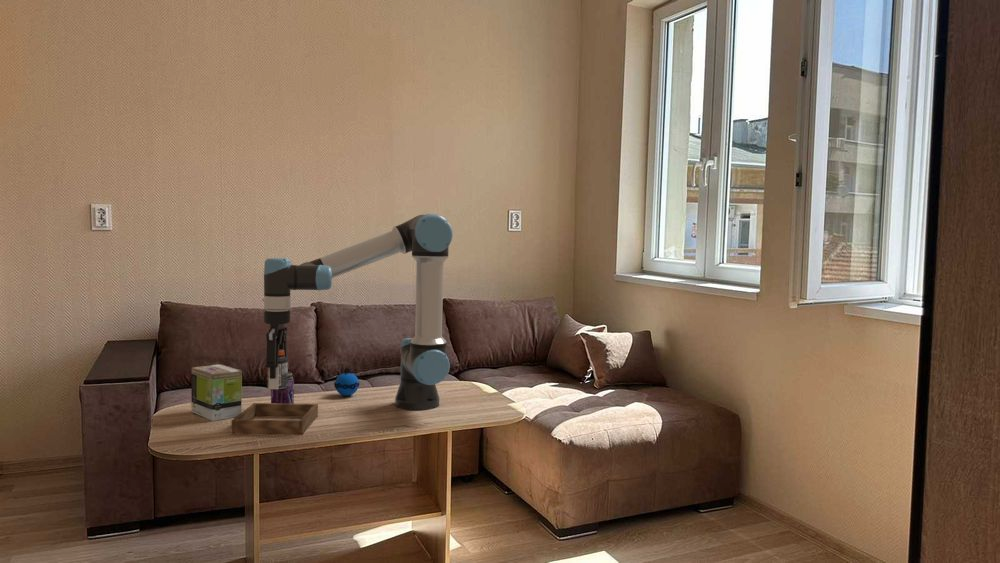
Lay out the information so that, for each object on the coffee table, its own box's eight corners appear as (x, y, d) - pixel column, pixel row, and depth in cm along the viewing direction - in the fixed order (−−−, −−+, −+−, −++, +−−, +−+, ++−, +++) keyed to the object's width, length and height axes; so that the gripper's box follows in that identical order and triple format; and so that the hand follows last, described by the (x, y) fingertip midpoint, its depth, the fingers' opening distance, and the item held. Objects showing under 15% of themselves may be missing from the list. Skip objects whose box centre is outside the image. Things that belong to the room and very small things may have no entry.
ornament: (351, 391, 254) (351, 364, 254) (363, 396, 248) (363, 368, 247) (329, 395, 249) (330, 367, 248) (342, 399, 242) (342, 371, 242)
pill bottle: (263, 387, 209) (263, 349, 208) (281, 384, 213) (281, 347, 212) (273, 390, 205) (273, 352, 204) (291, 387, 209) (291, 350, 208)
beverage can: (286, 413, 223) (287, 376, 222) (266, 412, 224) (266, 375, 223) (297, 408, 229) (297, 372, 229) (278, 406, 231) (278, 371, 230)
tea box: (243, 416, 219) (242, 369, 217) (211, 422, 211) (211, 374, 210) (221, 407, 229) (220, 362, 228) (190, 412, 221) (189, 366, 220)
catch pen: (317, 416, 220) (317, 404, 220) (302, 434, 200) (302, 421, 200) (253, 415, 219) (253, 403, 219) (231, 434, 200) (231, 420, 199)
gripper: (273, 306, 217) (273, 379, 218) (254, 313, 198) (254, 393, 199) (297, 306, 217) (297, 380, 219) (281, 313, 198) (280, 394, 200)
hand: (276, 386), depth 209 cm, fingers closed on pill bottle, 6 cm apart
